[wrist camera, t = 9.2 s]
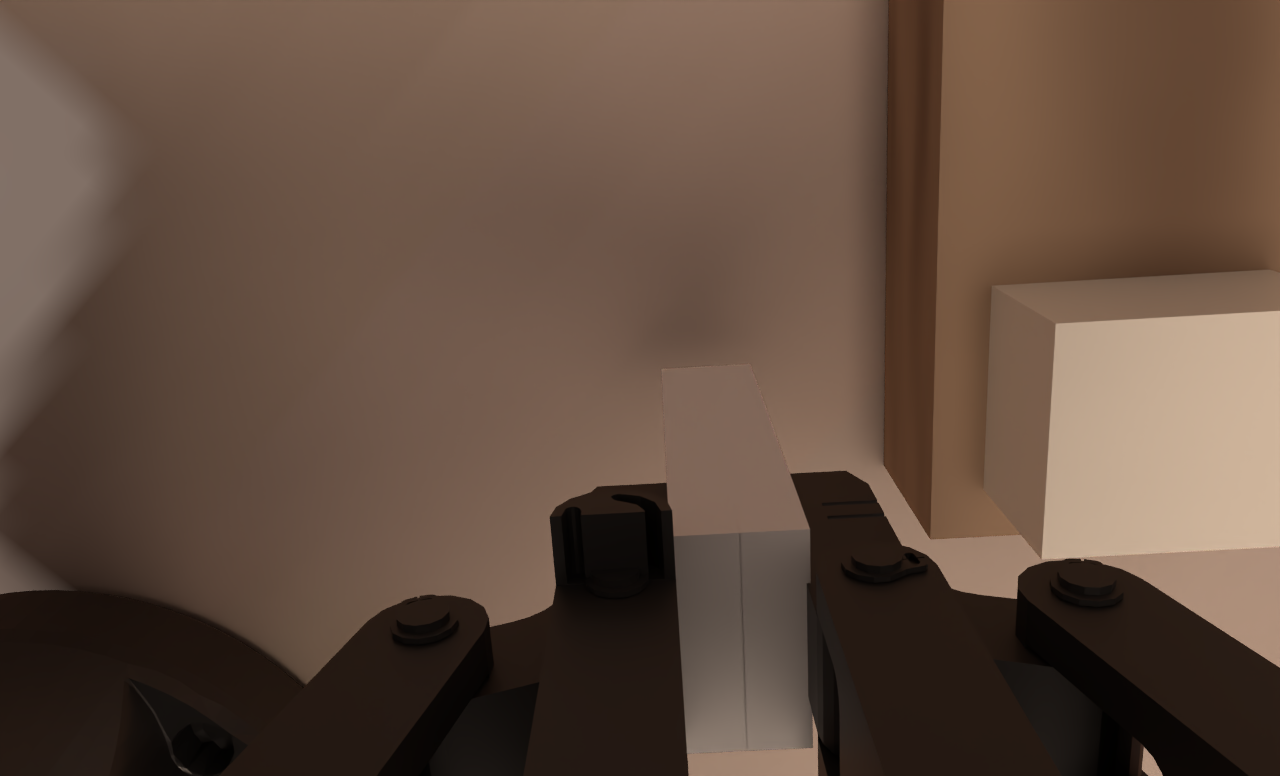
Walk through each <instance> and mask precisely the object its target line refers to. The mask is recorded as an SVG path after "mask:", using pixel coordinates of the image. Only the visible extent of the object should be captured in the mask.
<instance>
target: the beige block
mask: <svg viewBox="0 0 1280 776" xmlns="http://www.w3.org/2000/svg"><path fill="white" fill-rule="evenodd" d="M983 490H984V491H985V492H986V493H987V494H988V496H989V497H990V498H991V499H992V500H993V502H994V503H995V504H996V505H997V506H998V508H999V509H1000V510H1001V511H1002V512H1003V514H1004V515H1005V516H1006V517H1007V518H1008V520H1009V521H1010V522H1011V523H1012V524H1013V526H1014V527H1015V528H1016V529H1017V530H1018V532H1019V533H1020V534H1021V535H1022V536H1023V538H1024V539H1025V540H1026V541H1027V542H1028V544H1029V545H1030V546H1031V547H1032V548H1033V550H1034V551H1035V552H1036V553H1037V554H1038V556H1039V557H1040V558H1041V559H1060V558H1079V557H1098V556H1117V555H1136V554H1154V553H1173V552H1192V551H1211V550H1230V549H1248V548H1267V547H1280V273H1279V272H1276V271H1273V270H1253V271H1236V272H1219V273H1201V274H1184V275H1167V276H1150V277H1133V278H1116V279H1099V280H1081V281H1064V282H1047V283H1030V284H1013V285H996V286H992V292H991V316H990V341H989V365H988V390H987V414H986V439H985V463H984V488H983Z"/></svg>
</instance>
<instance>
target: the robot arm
mask: <svg viewBox="0 0 1280 776" xmlns="http://www.w3.org/2000/svg"><path fill="white" fill-rule="evenodd" d="M661 374H662V394H663V414H664V435H665V455H666V476H667V483H658V484H639V485H620V486H601V487H597V488H596V489H594V490H593V491H592V492H591V493H588V494H585V495H581V496H578V497H575V498H571V499H569V500H568V501H566V502H564V503H563V504H561V505H559V506H557V507H556V508H555V510H554V511H553V513H552V514H551V516H550V524H551V535H552V546H553V557H554V567H555V578H556V590H555V595H554V601H553V605H552V606H550V607H549V608H547V609H546V610H544V611H542V612H540V613H537V614H535V615H533V616H531V617H528V618H525V619H521V620H518V621H514V622H511V623H506V624H502V625H497V626H493V627H490V625H489V618H488V615H487V613H486V611H485V609H484V607H483V606H481V605H479V604H478V603H476V602H474V601H473V600H471V599H467V598H461V597H456V596H436V595H425V596H420V598H417V597H414V598H410V599H406V600H404V601H402V602H401V603H399V604H397V605H394V606H392V607H389V608H387V609H385V610H383V611H381V612H380V613H378V614H377V615H376V616H374V617H373V618H372V619H370V620H369V621H368V622H367V623H366V624H365V625H364V626H363V627H362V628H361V629H360V630H359V631H358V632H357V633H356V634H355V635H354V636H353V637H352V638H351V639H350V640H349V641H348V642H347V643H346V644H345V645H344V646H343V648H342V649H341V650H340V651H339V652H338V653H337V654H336V655H335V656H334V657H333V658H332V659H331V660H330V661H329V662H328V663H327V664H326V665H325V666H324V667H323V668H322V669H321V670H320V671H319V672H318V673H317V675H316V676H315V677H314V678H313V679H312V680H311V681H310V682H309V683H308V684H307V685H306V686H305V687H304V688H302V687H301V686H299V685H298V684H297V683H296V682H295V681H294V680H293V679H292V678H290V677H289V676H288V675H287V674H286V673H284V672H283V671H282V670H281V669H279V668H278V667H277V666H276V665H274V664H273V663H271V662H270V661H269V660H267V659H266V658H264V657H263V656H262V655H260V654H259V653H257V652H256V651H254V650H252V649H251V648H249V647H248V646H246V645H244V644H243V643H241V642H240V641H238V640H236V639H234V638H232V637H230V636H228V635H227V634H225V633H223V632H221V631H219V630H217V629H215V628H213V627H211V626H208V625H206V624H204V623H202V622H200V621H198V620H195V619H193V618H190V617H187V616H185V615H182V614H180V613H177V612H174V611H171V610H168V609H165V608H162V607H159V606H155V605H152V604H149V603H144V602H140V601H136V600H132V599H128V598H123V597H117V596H112V595H106V594H99V593H90V592H81V591H61V590H45V591H25V592H13V593H6V594H0V776H688V760H687V754H691V753H712V752H733V751H755V750H776V749H798V748H813V728H812V713H813V717H814V721H815V724H816V728H817V732H818V776H1148V775H1147V774H1146V773H1145V772H1143V771H1142V759H1143V749H1144V747H1145V748H1146V749H1147V751H1148V752H1149V753H1150V754H1151V755H1152V756H1153V757H1154V759H1155V761H1156V763H1157V765H1158V767H1159V768H1160V770H1161V772H1162V775H1163V776H1280V668H1279V667H1278V666H1276V665H1275V664H1273V663H1271V662H1270V661H1268V660H1267V659H1265V658H1264V657H1262V656H1261V655H1259V654H1257V653H1256V652H1254V651H1253V650H1251V649H1250V648H1248V647H1247V646H1245V645H1244V644H1242V643H1240V642H1239V641H1237V640H1236V639H1234V638H1233V637H1231V636H1230V635H1228V634H1226V633H1225V632H1223V631H1222V630H1220V629H1219V628H1217V627H1216V626H1214V625H1213V624H1211V623H1209V622H1208V621H1206V620H1205V619H1203V618H1202V617H1200V616H1199V615H1197V614H1196V613H1194V612H1192V611H1191V610H1189V609H1188V608H1186V607H1185V606H1183V605H1182V604H1180V603H1178V602H1177V601H1175V600H1174V599H1172V598H1171V597H1169V596H1168V595H1166V594H1165V593H1163V592H1161V591H1160V590H1158V589H1157V588H1155V587H1154V586H1152V585H1151V584H1149V583H1148V582H1146V581H1144V580H1143V579H1141V578H1139V577H1137V576H1135V575H1133V574H1131V573H1129V572H1126V571H1124V570H1122V569H1119V568H1115V567H1111V566H1108V565H1104V564H1102V563H1101V562H1098V561H1093V560H1086V559H1084V561H1081V559H1065V560H1062V561H1048V562H1044V563H1041V564H1038V565H1034V566H1031V567H1028V568H1027V569H1026V570H1025V571H1024V572H1023V573H1022V574H1020V575H1019V576H1018V592H1017V599H1011V598H1002V597H993V596H984V595H977V594H971V593H966V592H961V591H957V590H954V589H951V587H950V586H949V584H948V582H947V581H946V579H945V577H944V575H943V574H942V572H941V570H940V569H939V567H938V565H937V564H936V563H935V562H933V561H932V560H931V559H930V558H929V557H928V556H927V555H925V554H923V553H921V552H919V551H916V550H914V549H912V548H910V547H905V546H902V545H901V543H900V541H899V540H898V538H897V536H896V534H895V532H894V530H893V529H892V527H891V525H890V523H889V521H888V519H887V518H886V516H885V517H884V512H883V510H882V508H881V507H880V505H879V503H877V499H876V497H875V496H874V494H873V492H872V490H871V488H870V486H869V485H868V484H867V483H866V482H864V481H862V480H861V479H859V478H857V477H856V476H854V475H852V474H850V473H849V472H847V471H832V472H813V473H795V474H790V472H789V470H788V467H787V464H786V461H785V459H784V456H783V453H782V450H781V448H780V445H779V442H778V439H777V436H776V434H775V431H774V428H773V425H772V423H771V420H770V417H769V414H768V412H767V409H766V406H765V403H764V400H763V398H762V395H761V392H760V389H759V387H758V384H757V381H756V378H755V376H754V373H753V370H752V367H751V365H750V364H739V365H721V366H703V367H685V368H667V369H661Z"/></svg>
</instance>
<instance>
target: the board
mask: <svg viewBox="0 0 1280 776" xmlns="http://www.w3.org/2000/svg"><path fill="white" fill-rule="evenodd" d="M1253 270H1273V271H1276V272H1279V273H1280V0H889V30H888V127H887V223H886V320H885V417H884V466H885V468H886V469H887V471H888V473H889V474H890V476H891V477H892V479H893V481H894V482H895V484H896V485H897V487H898V489H899V490H900V492H901V493H902V495H903V497H904V498H905V500H906V501H907V503H908V505H909V506H910V508H911V509H912V511H913V513H914V514H915V516H916V517H917V519H918V521H919V522H920V524H921V525H922V527H923V528H924V530H925V532H926V533H927V535H928V536H929V538H930V539H947V538H966V537H984V536H1003V535H1021V534H1020V533H1019V532H1018V530H1017V529H1016V528H1015V527H1014V526H1013V524H1012V523H1011V522H1010V521H1009V520H1008V518H1007V517H1006V516H1005V515H1004V514H1003V512H1002V511H1001V510H1000V509H999V508H998V506H997V505H996V504H995V503H994V502H993V500H992V499H991V498H990V497H989V496H988V494H987V493H986V492H985V491H984V490H983V488H984V463H985V439H986V414H987V390H988V365H989V341H990V316H991V292H992V286H996V285H1013V284H1030V283H1047V282H1064V281H1081V280H1099V279H1116V278H1133V277H1150V276H1167V275H1184V274H1201V273H1219V272H1236V271H1253Z"/></svg>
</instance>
